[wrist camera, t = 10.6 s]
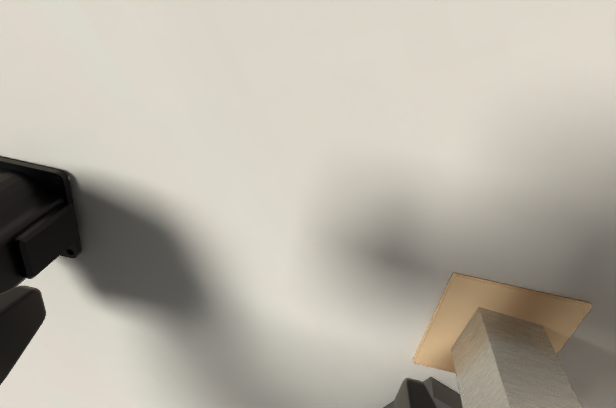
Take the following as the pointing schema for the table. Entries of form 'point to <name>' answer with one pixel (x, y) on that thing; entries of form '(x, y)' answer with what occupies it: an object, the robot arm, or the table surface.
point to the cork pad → (500, 298)
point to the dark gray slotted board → (440, 395)
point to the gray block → (509, 365)
